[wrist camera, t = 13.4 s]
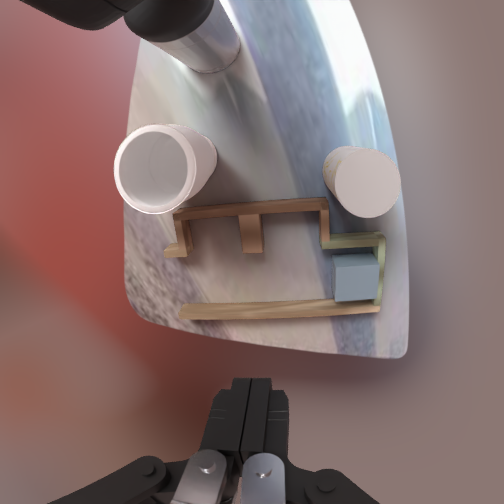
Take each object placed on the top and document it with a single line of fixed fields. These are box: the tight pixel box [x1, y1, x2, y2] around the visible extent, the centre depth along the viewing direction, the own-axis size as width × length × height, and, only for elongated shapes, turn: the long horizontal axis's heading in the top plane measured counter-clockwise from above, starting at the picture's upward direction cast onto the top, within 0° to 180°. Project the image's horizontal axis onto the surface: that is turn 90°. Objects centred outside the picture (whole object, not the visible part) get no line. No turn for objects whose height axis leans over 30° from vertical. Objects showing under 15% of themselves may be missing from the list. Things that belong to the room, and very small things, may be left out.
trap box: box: [164, 197, 386, 319], centre depth 47 cm, size 19×35×4 cm, turn 96°
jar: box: [114, 124, 217, 214], centre depth 38 cm, size 11×10×15 cm
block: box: [331, 253, 380, 302], centre depth 46 cm, size 6×7×5 cm
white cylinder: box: [322, 146, 401, 218], centre depth 37 cm, size 8×8×12 cm
